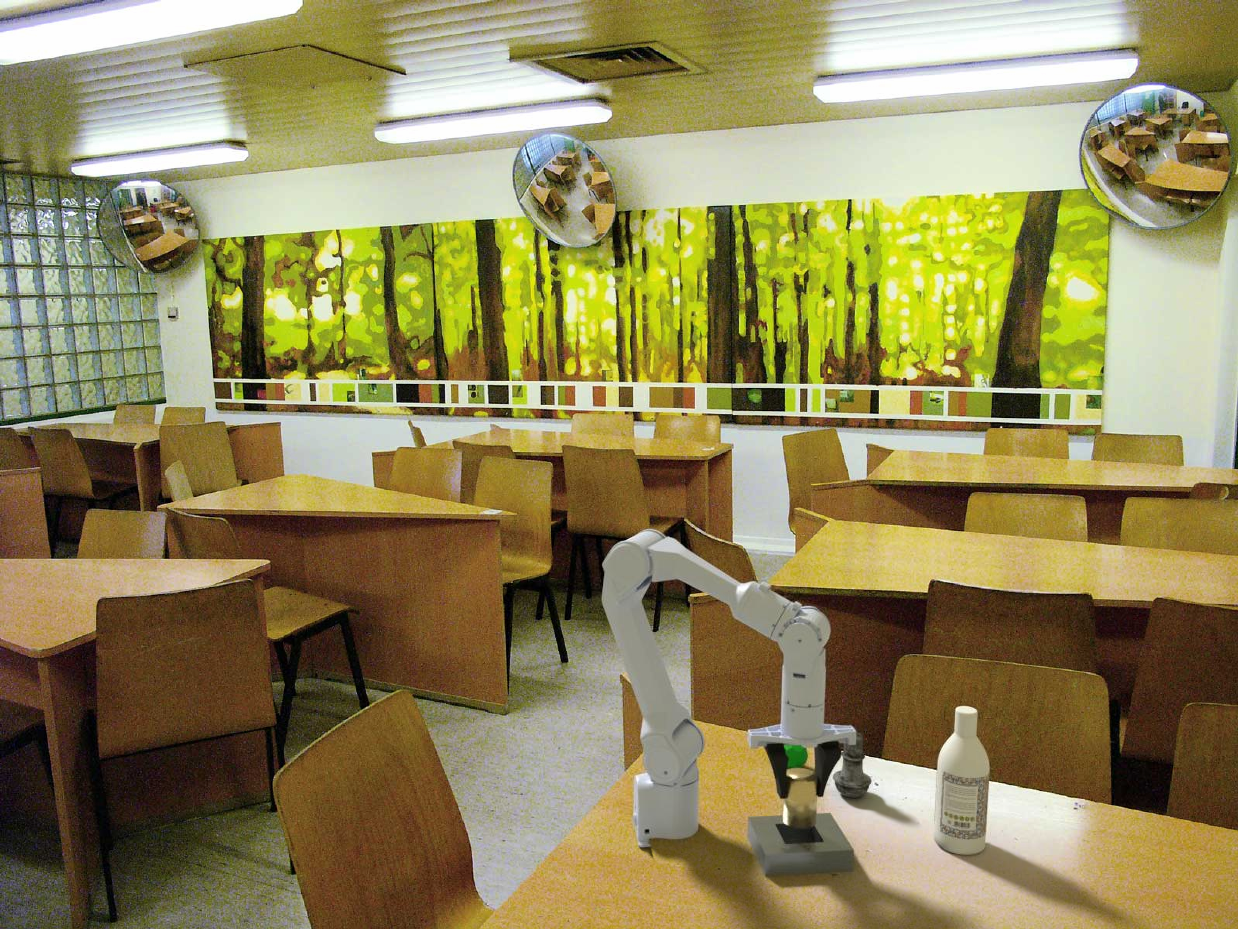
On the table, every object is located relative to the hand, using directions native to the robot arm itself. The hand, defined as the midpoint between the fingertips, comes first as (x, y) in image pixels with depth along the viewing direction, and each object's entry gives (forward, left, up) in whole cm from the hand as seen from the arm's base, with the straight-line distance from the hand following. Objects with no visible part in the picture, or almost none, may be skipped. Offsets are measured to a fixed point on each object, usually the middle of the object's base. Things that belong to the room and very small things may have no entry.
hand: (799, 794), depth 135 cm
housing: (0, 0, -10) cm, 10 cm away
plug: (0, 0, -4) cm, 4 cm away
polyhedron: (+7, +28, -10) cm, 31 cm away
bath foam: (+24, +2, -10) cm, 26 cm away
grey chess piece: (+13, +16, -10) cm, 23 cm away
